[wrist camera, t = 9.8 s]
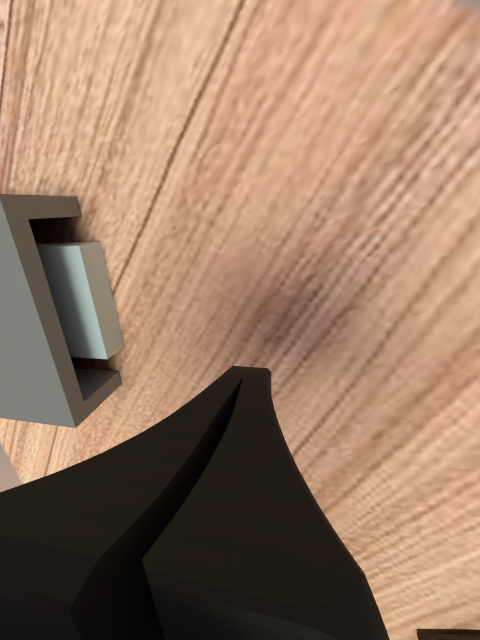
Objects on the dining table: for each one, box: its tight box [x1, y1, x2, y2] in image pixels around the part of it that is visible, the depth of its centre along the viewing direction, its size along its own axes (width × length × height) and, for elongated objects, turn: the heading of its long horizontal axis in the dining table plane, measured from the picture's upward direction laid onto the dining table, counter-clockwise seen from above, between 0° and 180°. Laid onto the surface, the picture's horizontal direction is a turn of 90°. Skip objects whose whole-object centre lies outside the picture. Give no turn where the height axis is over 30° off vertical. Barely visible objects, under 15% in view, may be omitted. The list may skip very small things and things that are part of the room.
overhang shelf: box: [0, 194, 121, 428], centre depth 20 cm, size 14×10×5 cm, turn 3°
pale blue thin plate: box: [36, 242, 124, 359], centre depth 21 cm, size 8×9×2 cm
